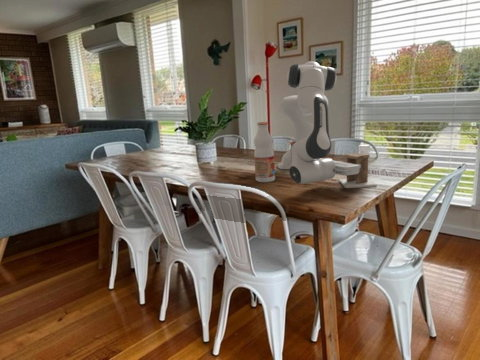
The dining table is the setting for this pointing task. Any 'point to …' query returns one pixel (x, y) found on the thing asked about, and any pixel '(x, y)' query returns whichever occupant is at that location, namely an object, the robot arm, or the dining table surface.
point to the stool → (363, 171)
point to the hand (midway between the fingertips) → (351, 164)
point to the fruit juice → (264, 154)
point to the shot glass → (364, 149)
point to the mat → (353, 184)
